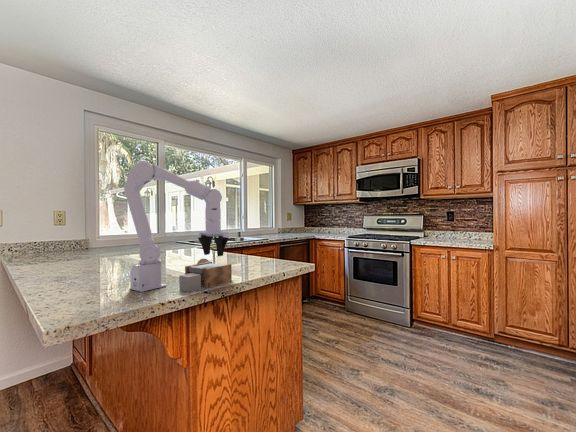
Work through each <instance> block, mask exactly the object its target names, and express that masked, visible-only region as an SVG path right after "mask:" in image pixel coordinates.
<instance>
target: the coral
mask: <svg viewBox="0 0 576 432" xmlns="http://www.w3.org/2000/svg"><path fill="white" fill-rule="evenodd" d="M205 262H211V261H210V260H208V259H207V258H200V259H199V260H198V262H197V263H196V264H200V263H205Z"/></svg>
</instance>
